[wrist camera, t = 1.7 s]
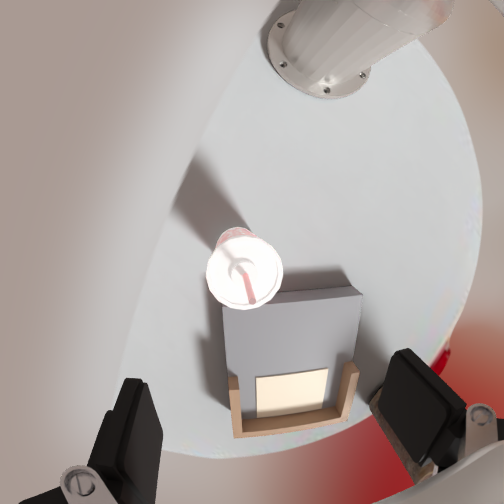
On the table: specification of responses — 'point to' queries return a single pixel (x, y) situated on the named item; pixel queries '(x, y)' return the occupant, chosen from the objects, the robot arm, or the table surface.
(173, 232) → the table surface
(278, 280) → the beverage cup
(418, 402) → the robot arm
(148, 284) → the table surface
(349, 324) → the dock
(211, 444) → the table surface
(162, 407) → the table surface
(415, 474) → the brown rough cylinder
